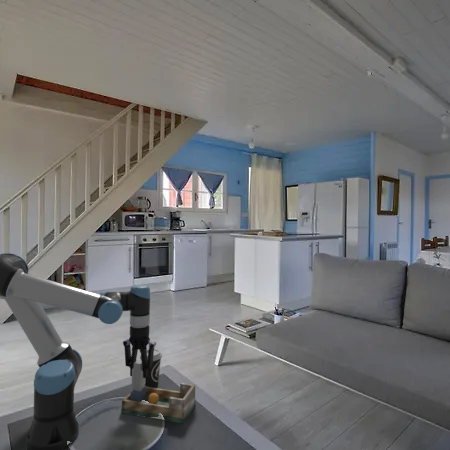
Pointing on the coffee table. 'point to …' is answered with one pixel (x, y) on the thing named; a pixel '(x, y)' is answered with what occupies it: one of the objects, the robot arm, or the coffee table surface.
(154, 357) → the coffee cup
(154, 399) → the ball
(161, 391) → the wooden tray
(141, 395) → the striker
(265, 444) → the coffee table surface
